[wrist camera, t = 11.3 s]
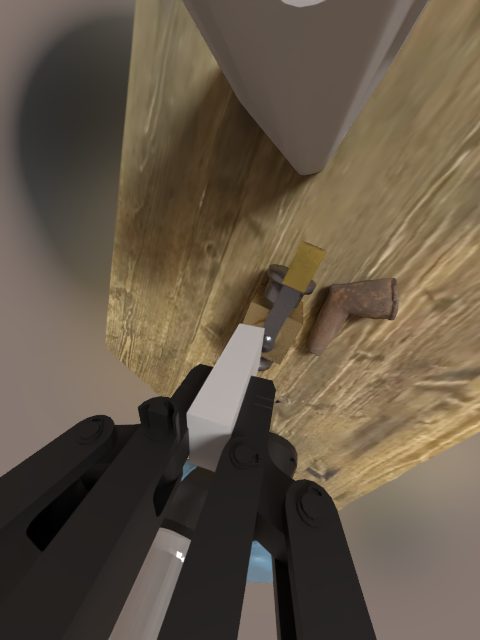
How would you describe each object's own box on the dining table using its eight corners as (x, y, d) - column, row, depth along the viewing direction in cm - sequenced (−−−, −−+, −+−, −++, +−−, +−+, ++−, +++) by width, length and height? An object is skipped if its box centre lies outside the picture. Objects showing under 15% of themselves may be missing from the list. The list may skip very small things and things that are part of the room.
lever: (270, 349, 32) (268, 356, 30) (252, 341, 32) (249, 347, 31) (325, 250, 24) (327, 252, 23) (301, 240, 25) (301, 241, 23)
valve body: (274, 353, 44) (268, 386, 35) (239, 337, 45) (224, 366, 36) (315, 278, 36) (320, 298, 27) (271, 260, 36) (262, 274, 28)
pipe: (297, 356, 38) (355, 382, 35) (341, 264, 29) (421, 290, 27) (303, 339, 43) (354, 361, 40) (342, 258, 35) (408, 280, 32)
